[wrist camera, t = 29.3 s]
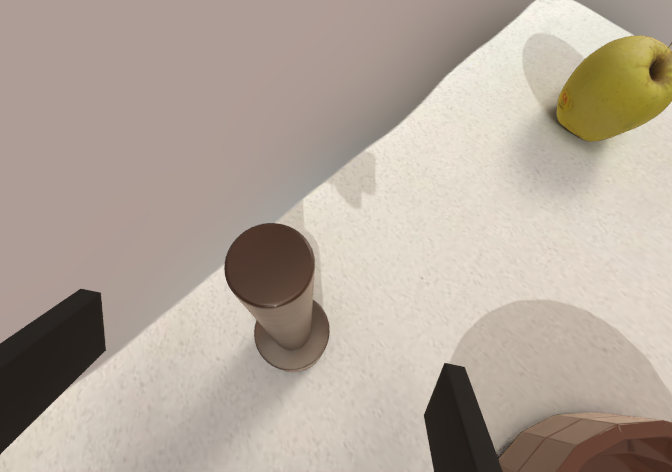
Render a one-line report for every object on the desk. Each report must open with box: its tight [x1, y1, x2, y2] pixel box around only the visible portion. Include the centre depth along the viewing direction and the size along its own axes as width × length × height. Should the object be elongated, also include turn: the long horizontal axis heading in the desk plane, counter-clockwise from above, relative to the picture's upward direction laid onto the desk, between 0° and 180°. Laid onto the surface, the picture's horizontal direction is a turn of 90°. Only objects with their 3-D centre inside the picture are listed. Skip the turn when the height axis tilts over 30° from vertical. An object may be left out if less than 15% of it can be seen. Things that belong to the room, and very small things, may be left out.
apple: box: [557, 36, 672, 141], centre depth 31 cm, size 8×8×10 cm
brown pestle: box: [224, 223, 329, 372], centre depth 17 cm, size 4×4×18 cm
